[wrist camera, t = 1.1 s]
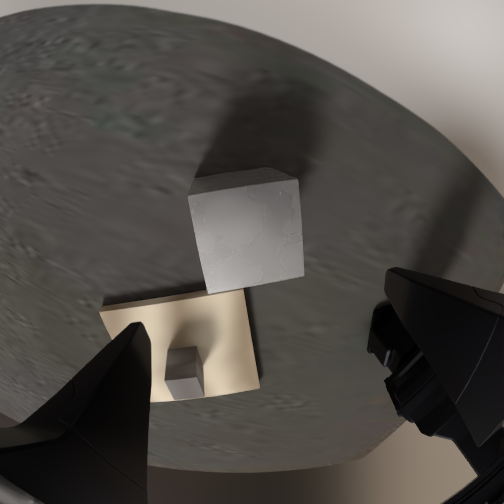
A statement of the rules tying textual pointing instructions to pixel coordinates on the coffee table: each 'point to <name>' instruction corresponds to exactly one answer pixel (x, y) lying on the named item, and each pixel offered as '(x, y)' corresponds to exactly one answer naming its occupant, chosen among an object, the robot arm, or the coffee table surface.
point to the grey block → (247, 228)
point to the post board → (193, 342)
